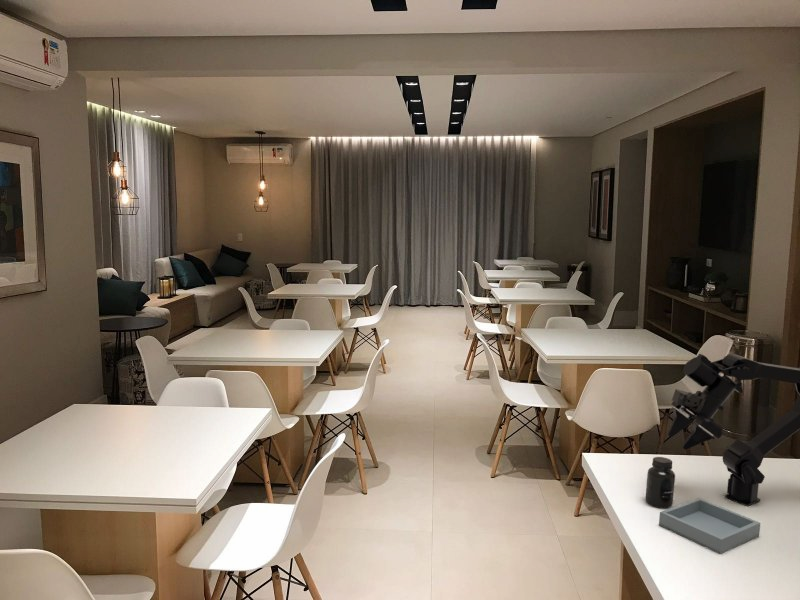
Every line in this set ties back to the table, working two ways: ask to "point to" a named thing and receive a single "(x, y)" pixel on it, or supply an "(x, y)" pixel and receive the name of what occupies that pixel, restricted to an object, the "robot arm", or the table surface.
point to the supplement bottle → (660, 483)
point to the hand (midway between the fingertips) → (676, 442)
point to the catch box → (709, 525)
